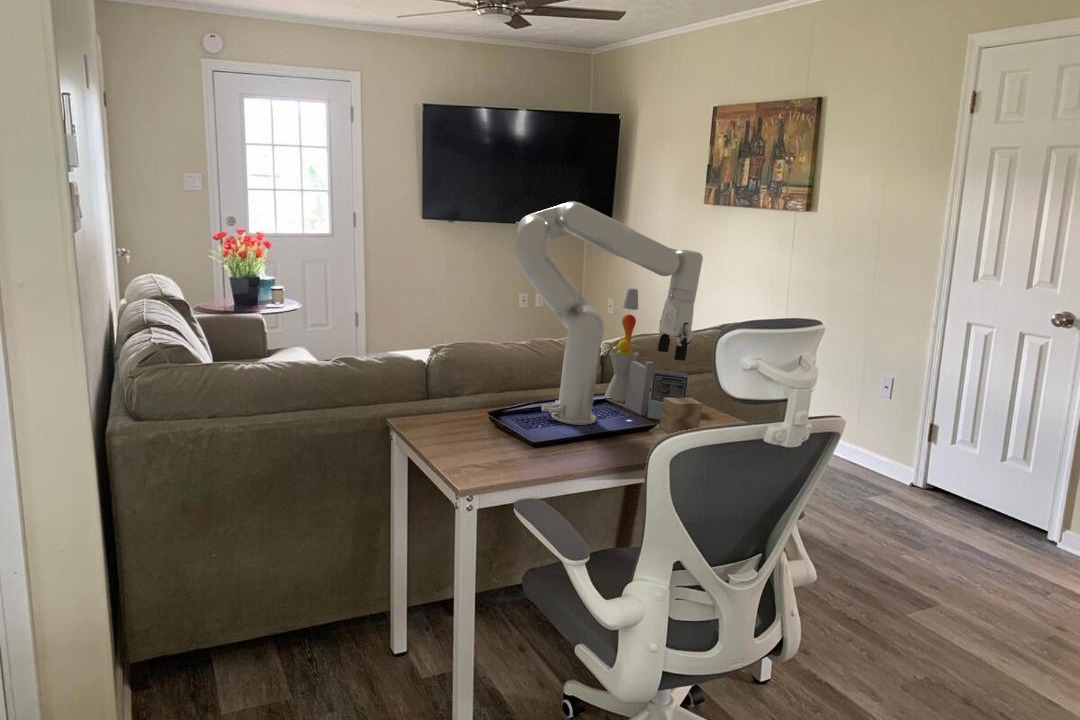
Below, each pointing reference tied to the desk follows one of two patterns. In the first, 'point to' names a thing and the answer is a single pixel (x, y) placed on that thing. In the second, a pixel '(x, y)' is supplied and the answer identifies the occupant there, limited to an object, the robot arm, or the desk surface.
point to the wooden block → (680, 414)
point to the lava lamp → (624, 351)
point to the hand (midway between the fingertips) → (670, 355)
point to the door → (655, 409)
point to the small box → (668, 385)
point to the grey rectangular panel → (639, 387)
